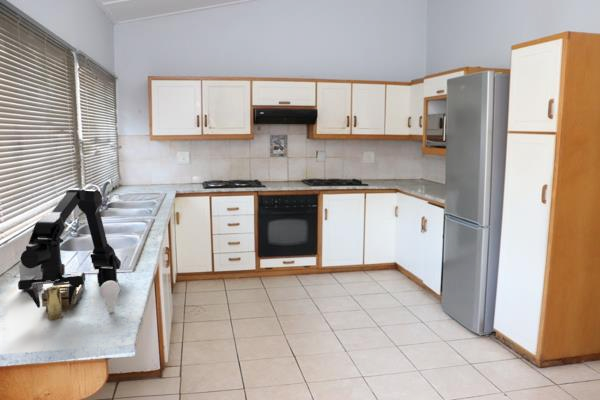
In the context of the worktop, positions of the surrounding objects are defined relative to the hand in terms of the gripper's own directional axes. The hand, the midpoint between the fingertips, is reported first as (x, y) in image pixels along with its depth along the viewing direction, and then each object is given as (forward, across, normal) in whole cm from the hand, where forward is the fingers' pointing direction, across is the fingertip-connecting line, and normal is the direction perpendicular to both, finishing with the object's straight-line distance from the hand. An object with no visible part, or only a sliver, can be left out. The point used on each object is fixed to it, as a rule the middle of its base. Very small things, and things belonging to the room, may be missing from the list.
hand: (54, 306), depth 161 cm
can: (+4, +14, -32) cm, 35 cm away
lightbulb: (+4, -17, 0) cm, 18 cm away
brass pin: (+4, 0, 0) cm, 4 cm away
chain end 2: (+4, 0, -20) cm, 20 cm away
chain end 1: (+4, 0, -14) cm, 14 cm away
